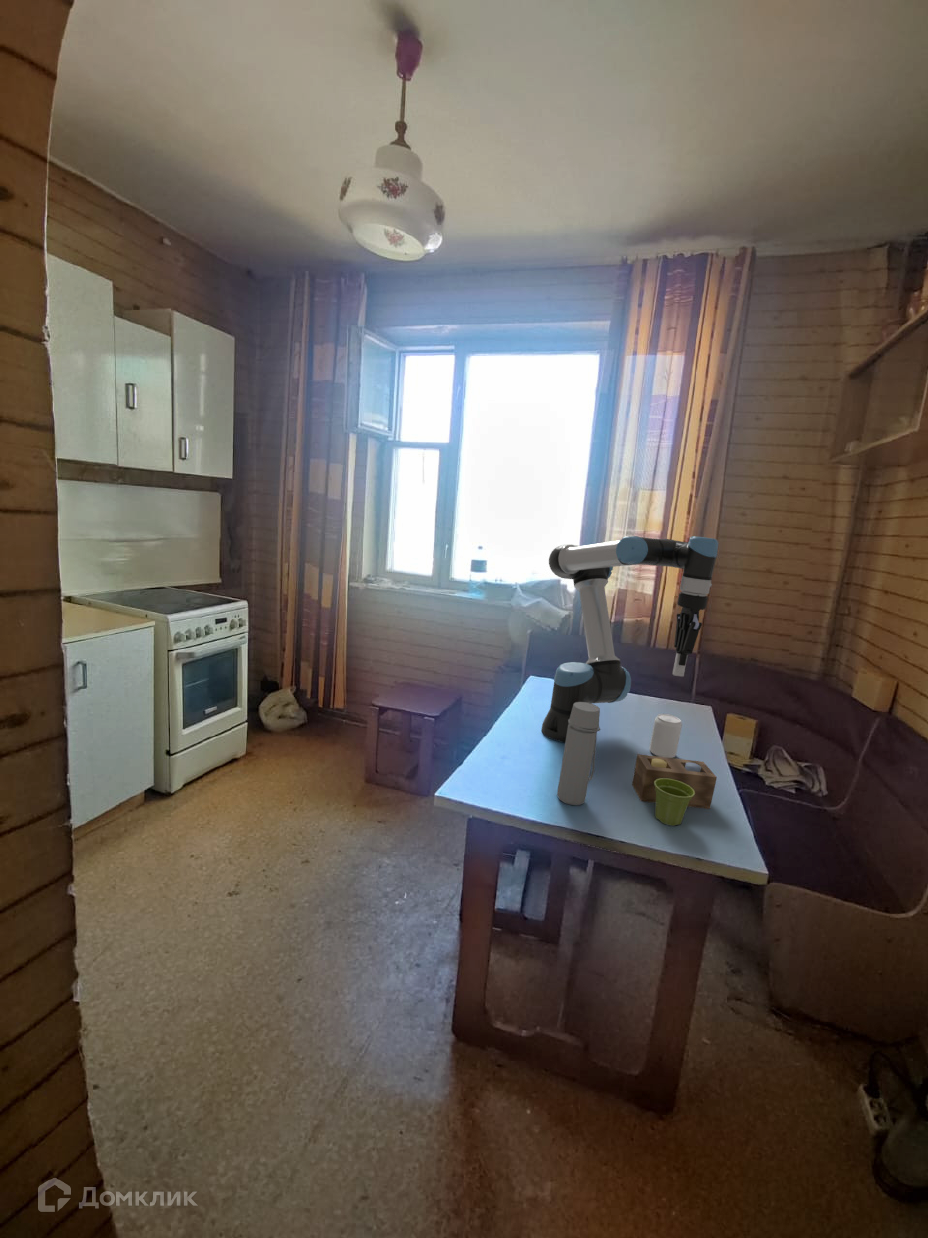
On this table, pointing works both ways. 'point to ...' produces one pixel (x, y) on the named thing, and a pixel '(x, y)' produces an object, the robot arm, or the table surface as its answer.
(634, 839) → the table surface
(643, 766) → the walnut block
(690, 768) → the blue peg
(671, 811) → the plant pot
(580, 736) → the water bottle
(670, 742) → the beverage can
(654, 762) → the ochre peg
